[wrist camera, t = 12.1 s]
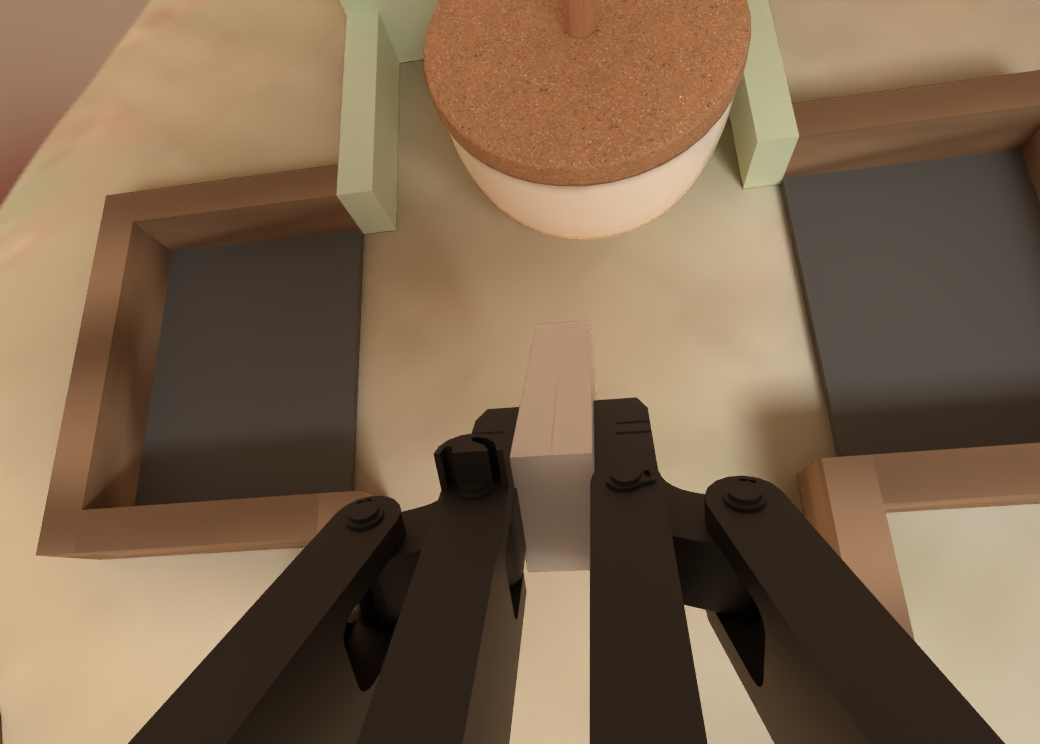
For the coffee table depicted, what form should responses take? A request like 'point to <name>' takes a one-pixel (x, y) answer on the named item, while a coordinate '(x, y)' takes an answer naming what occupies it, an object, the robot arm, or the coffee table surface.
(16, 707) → the coffee table surface
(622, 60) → the lidded jar
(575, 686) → the coffee table surface
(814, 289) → the track
